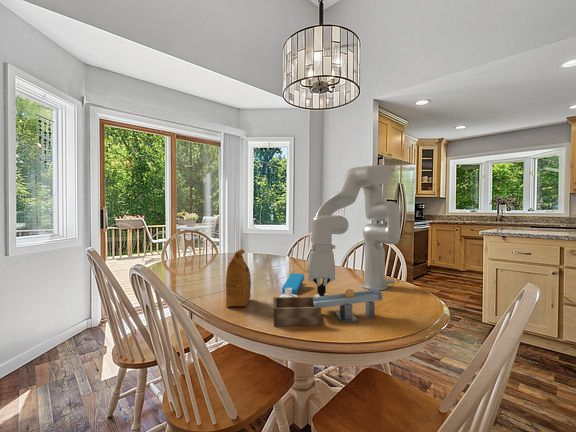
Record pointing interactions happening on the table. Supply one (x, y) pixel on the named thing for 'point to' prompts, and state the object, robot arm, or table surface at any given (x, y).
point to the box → (296, 311)
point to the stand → (347, 315)
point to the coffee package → (238, 281)
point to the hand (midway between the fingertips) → (321, 295)
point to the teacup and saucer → (288, 293)
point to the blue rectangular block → (293, 282)
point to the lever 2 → (342, 299)
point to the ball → (349, 293)
